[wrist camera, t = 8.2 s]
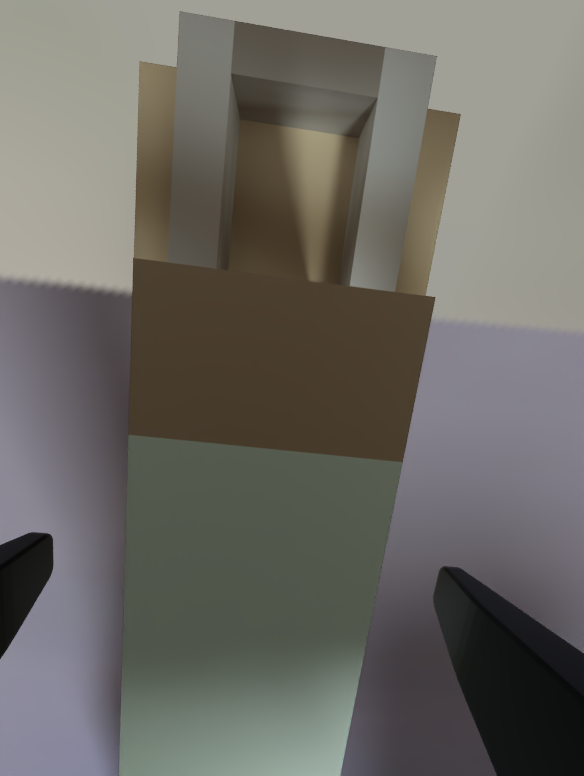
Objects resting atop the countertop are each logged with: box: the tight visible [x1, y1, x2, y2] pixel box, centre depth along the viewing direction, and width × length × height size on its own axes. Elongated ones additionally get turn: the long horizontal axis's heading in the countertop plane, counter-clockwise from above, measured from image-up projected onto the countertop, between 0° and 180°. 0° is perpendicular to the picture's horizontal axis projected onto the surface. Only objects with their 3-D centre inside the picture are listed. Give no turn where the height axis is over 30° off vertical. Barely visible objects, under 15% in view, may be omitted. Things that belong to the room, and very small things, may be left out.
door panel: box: [119, 258, 435, 776], centre depth 8 cm, size 12×2×9 cm, turn 173°
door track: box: [134, 12, 460, 296], centre depth 12 cm, size 24×9×4 cm, turn 173°
